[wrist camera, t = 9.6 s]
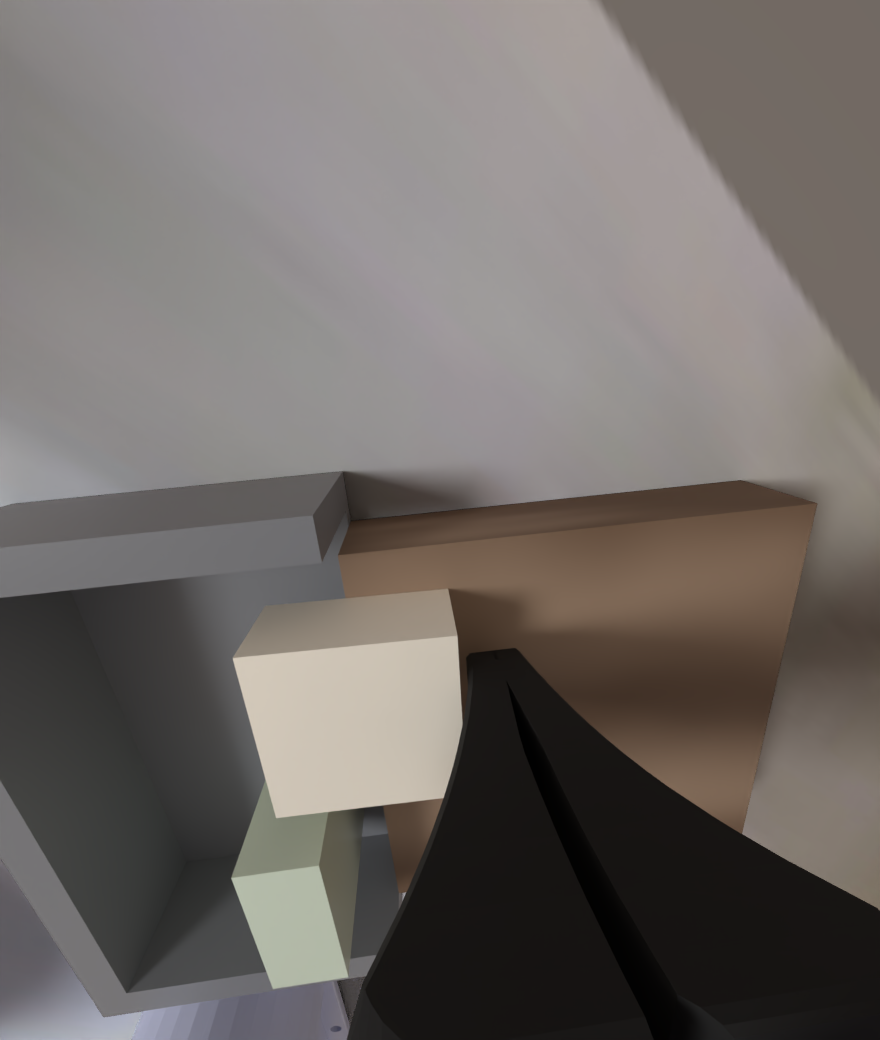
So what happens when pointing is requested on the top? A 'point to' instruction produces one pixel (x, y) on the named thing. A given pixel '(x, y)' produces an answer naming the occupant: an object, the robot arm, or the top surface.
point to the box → (155, 727)
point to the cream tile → (353, 700)
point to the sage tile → (300, 891)
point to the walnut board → (614, 620)
